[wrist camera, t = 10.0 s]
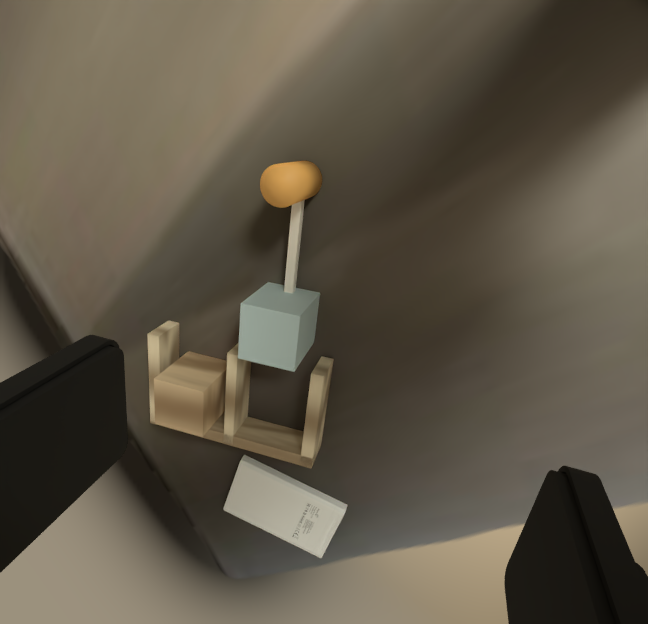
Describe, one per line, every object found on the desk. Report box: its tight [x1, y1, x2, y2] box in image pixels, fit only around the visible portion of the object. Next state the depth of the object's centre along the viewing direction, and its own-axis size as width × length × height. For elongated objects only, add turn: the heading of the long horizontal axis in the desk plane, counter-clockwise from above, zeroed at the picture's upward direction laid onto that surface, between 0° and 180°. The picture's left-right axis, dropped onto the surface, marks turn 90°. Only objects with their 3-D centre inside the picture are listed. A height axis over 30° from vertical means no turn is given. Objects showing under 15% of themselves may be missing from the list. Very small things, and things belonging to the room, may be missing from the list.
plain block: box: [154, 351, 227, 437], centre depth 44 cm, size 5×5×6 cm
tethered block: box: [238, 161, 322, 372], centre depth 37 cm, size 16×5×6 cm, turn 173°
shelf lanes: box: [148, 321, 334, 468], centre depth 44 cm, size 10×17×4 cm, turn 83°
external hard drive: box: [223, 455, 347, 558], centre depth 50 cm, size 2×8×12 cm
